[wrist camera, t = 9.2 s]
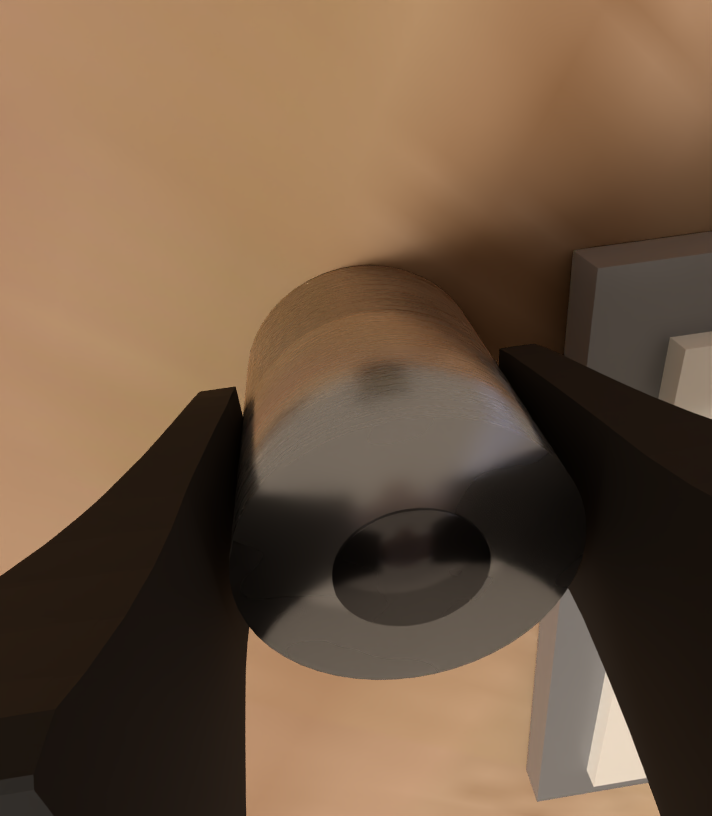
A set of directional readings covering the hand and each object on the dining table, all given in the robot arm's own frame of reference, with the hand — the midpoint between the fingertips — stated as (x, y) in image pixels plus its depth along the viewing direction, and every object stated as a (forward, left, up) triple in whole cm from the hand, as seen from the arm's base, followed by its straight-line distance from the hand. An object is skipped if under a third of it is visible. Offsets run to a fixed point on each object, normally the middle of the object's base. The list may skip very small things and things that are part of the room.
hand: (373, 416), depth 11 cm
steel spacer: (0, 0, -1) cm, 1 cm away
